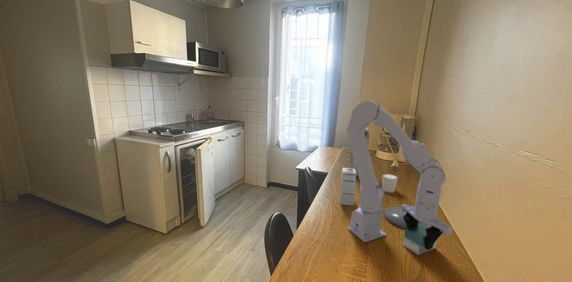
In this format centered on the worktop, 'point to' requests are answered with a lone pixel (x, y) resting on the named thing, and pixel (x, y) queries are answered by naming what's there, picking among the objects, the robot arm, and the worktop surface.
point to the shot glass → (389, 182)
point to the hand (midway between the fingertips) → (419, 242)
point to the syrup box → (348, 186)
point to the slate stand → (396, 216)
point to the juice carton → (352, 161)
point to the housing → (417, 239)
